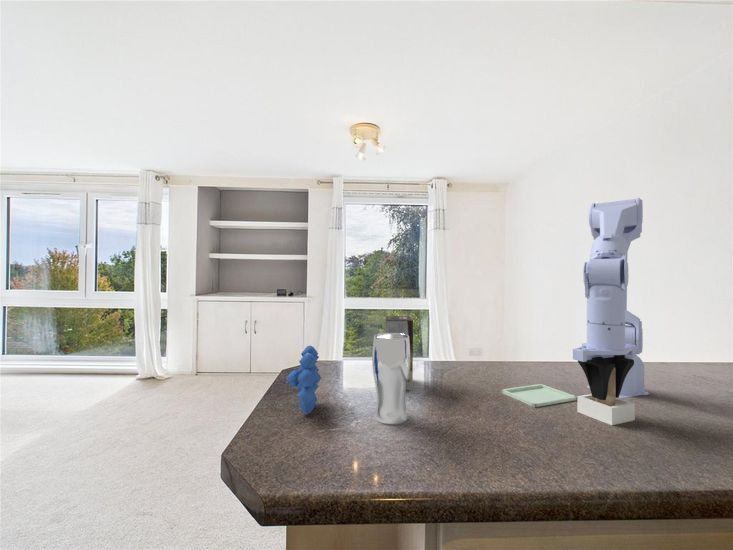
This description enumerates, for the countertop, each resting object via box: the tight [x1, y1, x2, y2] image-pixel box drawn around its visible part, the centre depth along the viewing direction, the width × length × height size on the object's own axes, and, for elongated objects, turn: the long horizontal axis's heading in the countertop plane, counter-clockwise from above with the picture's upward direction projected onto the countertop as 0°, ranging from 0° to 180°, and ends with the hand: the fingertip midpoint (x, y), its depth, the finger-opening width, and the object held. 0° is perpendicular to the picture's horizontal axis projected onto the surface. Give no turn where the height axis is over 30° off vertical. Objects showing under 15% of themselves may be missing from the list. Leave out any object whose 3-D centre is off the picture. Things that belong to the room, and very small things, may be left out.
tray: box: [500, 383, 578, 408], centre depth 71 cm, size 12×9×1 cm
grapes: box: [286, 345, 322, 414], centre depth 64 cm, size 12×7×12 cm, turn 5°
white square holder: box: [576, 393, 636, 426], centre depth 61 cm, size 6×6×4 cm
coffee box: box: [384, 315, 414, 391], centre depth 80 cm, size 9×6×16 cm
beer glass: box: [371, 332, 410, 426], centre depth 61 cm, size 7×7×15 cm
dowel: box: [595, 367, 616, 407], centre depth 61 cm, size 3×3×9 cm
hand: (605, 397), depth 61 cm, fingers closed on dowel, 3 cm apart
